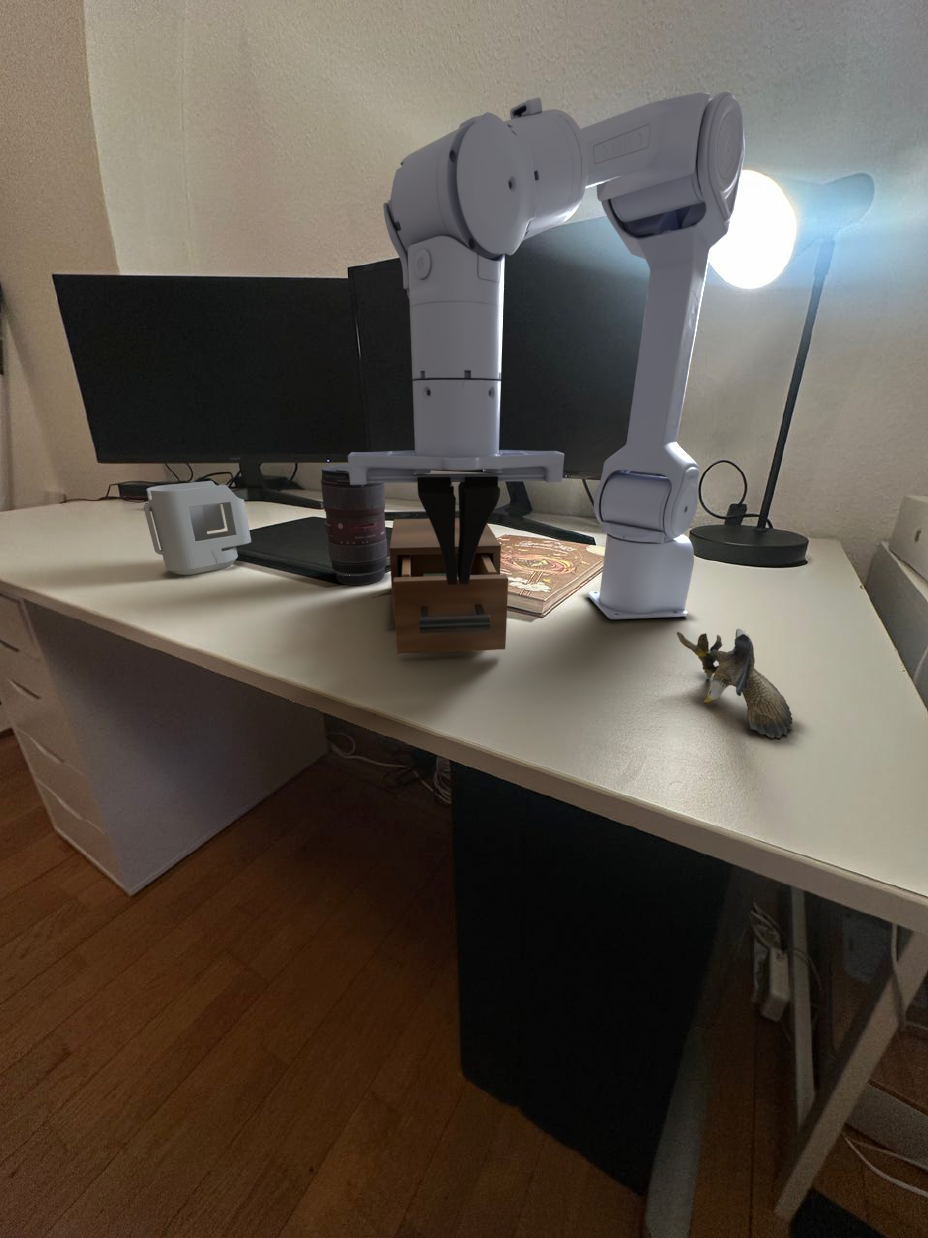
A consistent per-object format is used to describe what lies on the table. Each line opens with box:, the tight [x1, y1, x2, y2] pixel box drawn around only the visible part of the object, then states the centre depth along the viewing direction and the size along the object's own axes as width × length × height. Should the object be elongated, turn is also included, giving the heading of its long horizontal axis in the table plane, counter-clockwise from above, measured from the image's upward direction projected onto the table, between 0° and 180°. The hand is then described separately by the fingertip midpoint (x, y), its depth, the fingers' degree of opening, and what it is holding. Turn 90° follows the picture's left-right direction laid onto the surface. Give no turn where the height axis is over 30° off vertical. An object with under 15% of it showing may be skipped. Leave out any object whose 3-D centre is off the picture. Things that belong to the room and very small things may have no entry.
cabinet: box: [388, 517, 502, 630], centre depth 59 cm, size 14×12×9 cm
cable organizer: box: [143, 480, 252, 576], centre depth 71 cm, size 7×12×12 cm, turn 134°
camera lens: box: [320, 464, 388, 586], centre depth 66 cm, size 8×8×15 cm
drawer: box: [393, 553, 509, 655], centre depth 49 cm, size 17×10×7 cm, turn 6°
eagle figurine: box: [676, 627, 793, 739], centre depth 40 cm, size 8×7×9 cm
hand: (457, 580), depth 37 cm, fingers closed
